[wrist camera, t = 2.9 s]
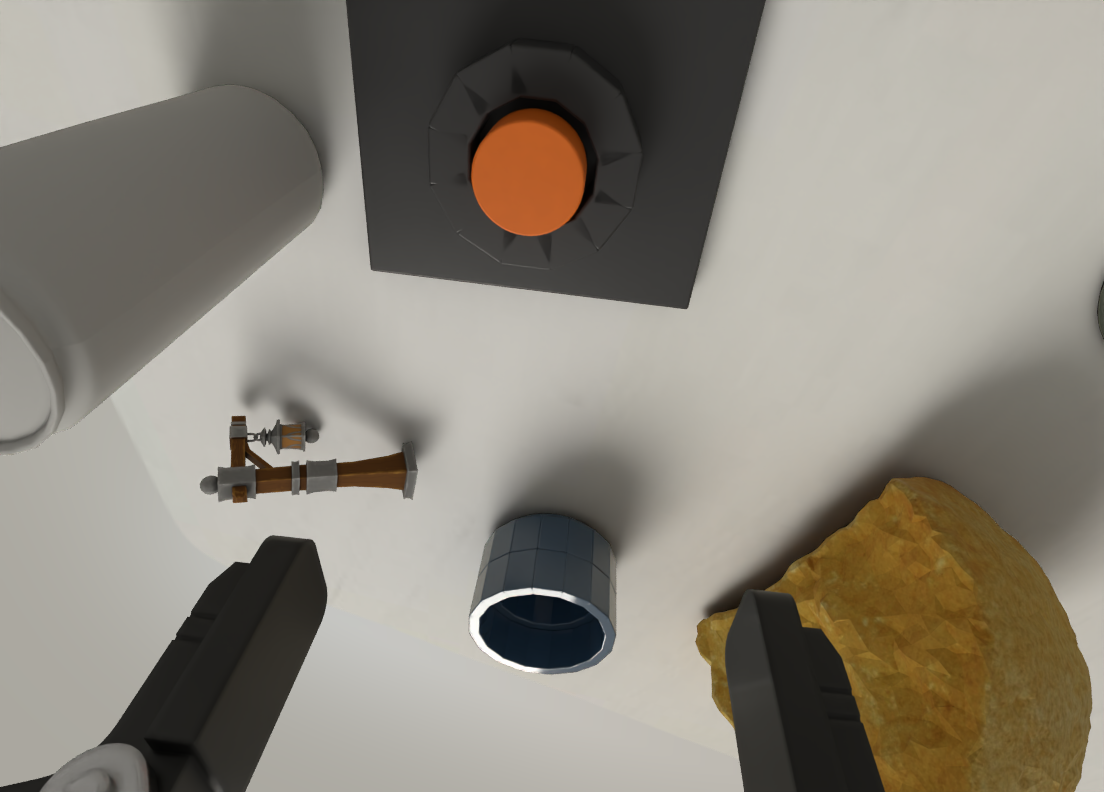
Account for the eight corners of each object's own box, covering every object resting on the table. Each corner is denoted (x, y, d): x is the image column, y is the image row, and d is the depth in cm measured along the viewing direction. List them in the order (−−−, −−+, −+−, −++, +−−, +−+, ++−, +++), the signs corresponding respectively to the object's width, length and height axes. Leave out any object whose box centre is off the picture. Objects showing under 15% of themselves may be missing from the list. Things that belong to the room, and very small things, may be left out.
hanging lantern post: (207, 404, 25) (195, 486, 22) (403, 403, 28) (418, 474, 25) (210, 436, 26) (199, 518, 23) (399, 431, 29) (413, 503, 26)
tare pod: (378, 260, 21) (353, 291, 19) (352, -53, 16) (313, -56, 14) (685, 298, 21) (692, 333, 19) (760, -7, 16) (781, -3, 14)
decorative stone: (1150, 660, 27) (1368, 904, 14) (869, 799, 33) (841, 1063, 20) (921, 438, 31) (927, 468, 18) (710, 594, 37) (602, 700, 24)
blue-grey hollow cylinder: (484, 583, 32) (467, 664, 28) (488, 498, 28) (469, 578, 24) (605, 599, 32) (603, 682, 28) (625, 516, 28) (626, 599, 24)
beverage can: (171, 183, 20) (-232, 382, 11) (202, 45, 18) (-292, 142, 8) (306, 258, 22) (54, 498, 12) (353, 139, 19) (80, 321, 9)
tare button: (480, 211, 18) (469, 230, 17) (482, 101, 16) (471, 113, 15) (580, 223, 18) (577, 242, 17) (593, 114, 16) (591, 127, 15)
